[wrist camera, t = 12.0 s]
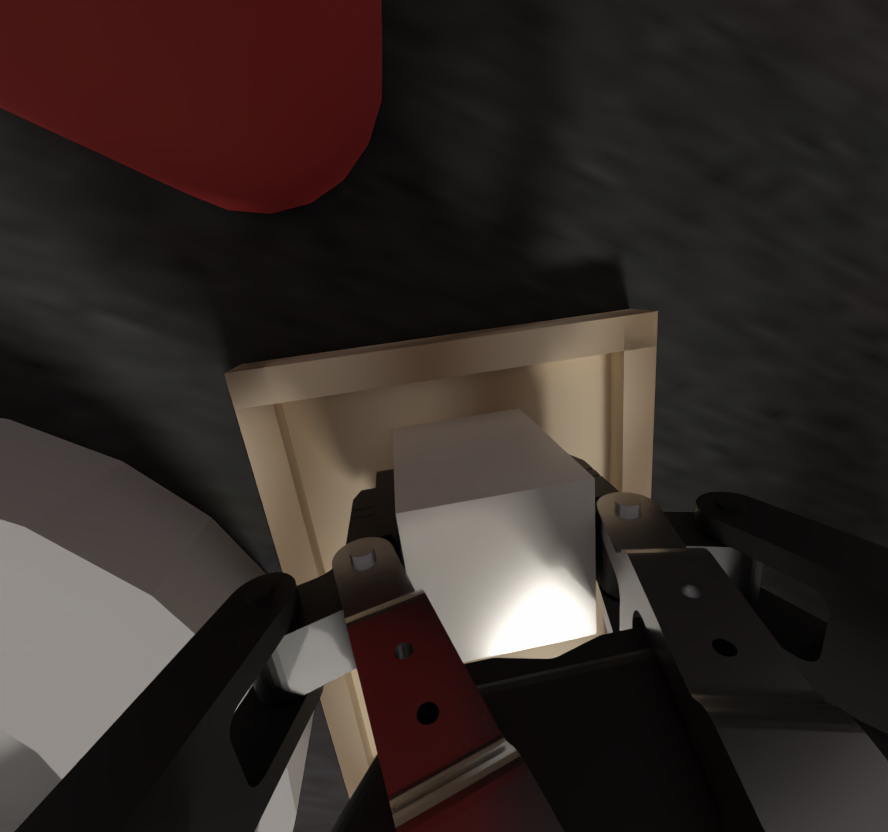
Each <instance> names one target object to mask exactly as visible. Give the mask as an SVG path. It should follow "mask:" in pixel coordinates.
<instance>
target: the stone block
mask: <svg viewBox="0 0 888 832" xmlns="http://www.w3.org/2000/svg"><path fill="white" fill-rule="evenodd" d="M392 435H393V461H394V488H395V514H396V519H397V525H398V530H399V536H400V541H401V547H402V552H403V558H404V563H405V569H406V574H407V575H408V577H409V579H410V581H411V583H412V585H413V587H414V589H415V591H416V590H419V589H423V590H424V592H425V593H426V595H427V597H428V599H429V601H430V602H431V604H432V606H433V608H434V610H435V612H436V613H437V615H438V617H439V619H440V621H441V623H442V625H443V626H444V628H445V630H446V632H447V634H448V636H449V637H450V639H451V641H452V643H453V645H454V647H455V649H456V650H457V652H458V654H459V656H460V658H461V660H462V662H468V661H473V660H477V659H482V658H487V657H491V656H496V655H501V654H506V653H510V652H515V651H520V650H524V649H529V648H534V647H539V646H543V645H548V644H553V643H557V642H562V641H567V640H572V639H576V638H581V637H586V636H590V635H595V634H596V552H595V478H594V477H593V476H592V475H591V474H590V473H589V472H587V471H586V470H585V469H584V468H583V467H582V466H581V465H580V464H579V463H578V462H577V461H576V460H574V459H573V458H572V457H571V456H570V455H569V454H568V453H567V452H566V451H565V450H564V449H563V448H561V447H560V446H559V445H558V444H557V443H556V442H555V441H554V440H553V439H552V438H551V437H550V436H549V435H547V434H546V433H545V432H544V431H543V430H542V429H541V428H540V427H539V426H538V425H537V424H536V423H534V422H533V421H532V420H531V419H530V418H529V417H528V416H527V415H526V414H525V413H524V412H523V411H521V410H520V409H519V408H518V409H512V410H506V411H499V412H493V413H487V414H481V415H474V416H468V417H462V418H456V419H449V420H443V421H437V422H431V423H424V424H418V425H412V426H406V427H399V428H393V429H392Z"/></svg>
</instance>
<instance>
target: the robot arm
mask: <svg viewBox="0 0 888 832" xmlns="http://www.w3.org/2000/svg"><path fill="white" fill-rule="evenodd" d="M570 456H571V457H572V458H573V459H574V460H576V461H577V462H578V463H579V464H580V465H581V466H582V467H583V468H584V469H585V470H586V471H587V472H589V473H590V474H591V475H592V476H593V477H594V478H595V552H596V581H597V597H598V601H599V605H600V608H601V611H602V615H603V618H604V622H605V625H606V628H607V632H608V634H603V635H600V636H598V637H596V638H594V639H592V640H590V641H588V642H586V643H584V644H582V645H580V646H578V647H576V648H574V649H572V650H570V651H568V652H566V653H564V654H562V655H560V656H558V657H555V658H551V659H533V658H490V659H485V660H481V661H476V662H471V663H467V664H464V663H463V662H462V660H461V658H460V656H459V654H458V652H457V650H456V649H455V647H454V645H453V643H452V641H451V639H450V637H449V636H448V634H447V632H446V630H445V628H444V626H443V625H442V623H441V621H440V619H439V617H438V615H437V613H436V612H435V610H434V608H433V606H432V604H431V602H430V601H429V599H428V597H427V595H426V593H425V592H424V590H423V589H419V590H416V591H415V589H414V587H413V585H412V583H411V581H410V579H409V577H408V575H407V574H406V569H405V563H404V558H403V552H402V547H401V541H400V536H399V530H398V525H397V519H396V514H395V488H394V469H390V470H384V471H378V472H376V488H372V489H366V490H361V491H360V492H359V494H358V495H357V496H356V497H355V498H354V499H353V503H352V509H351V511H352V512H351V516H350V522H349V528H348V535H347V541H346V545H345V546H343V547H342V548H341V549H339V550H338V551H337V552H336V554H335V555H334V557H333V559H332V569H331V570H330V571H328V572H327V573H325V574H323V575H322V576H319V577H317V578H315V579H313V580H310V581H308V582H305V583H303V584H300V585H298V586H297V585H296V581H295V579H294V578H293V577H292V576H291V575H289V574H287V573H281V572H275V573H268V574H264V575H261V576H258V577H256V578H254V579H252V580H250V581H248V582H246V583H245V584H243V585H242V586H240V587H239V588H238V589H237V590H235V591H234V592H233V593H232V594H231V596H230V597H229V598H228V599H227V600H226V601H225V602H224V603H223V604H222V605H221V606H220V608H219V609H218V610H217V611H216V612H215V613H214V614H213V615H212V616H211V617H210V618H209V620H208V621H207V622H206V623H205V624H204V625H203V626H202V627H201V628H200V629H199V630H198V632H197V633H196V634H195V635H194V636H193V637H192V638H191V639H190V640H189V641H188V642H187V644H186V645H185V646H184V647H183V648H182V649H181V650H180V651H179V652H178V653H177V654H176V656H175V657H174V658H173V659H172V660H171V661H170V662H169V663H168V664H167V665H166V667H165V668H164V669H163V670H162V671H161V672H160V673H159V674H158V675H157V676H156V677H155V679H154V680H153V681H152V682H151V683H150V684H149V685H148V686H147V687H146V688H145V689H144V691H143V692H142V693H141V694H140V695H139V696H138V697H137V698H136V699H135V700H134V701H133V703H132V704H131V705H130V706H129V707H128V708H127V709H126V710H125V711H124V712H123V713H122V715H121V716H120V717H119V718H118V719H117V720H116V721H115V722H114V723H113V724H112V725H111V727H110V728H109V729H108V730H107V731H106V732H105V733H104V734H103V735H102V736H101V737H100V739H99V740H98V741H97V742H96V743H95V744H94V745H93V746H92V747H91V748H90V749H89V751H88V752H87V753H86V754H85V755H84V756H83V757H82V758H81V759H80V760H79V761H78V763H77V764H76V765H75V766H74V767H73V768H72V769H71V770H70V771H69V772H68V773H67V775H66V776H65V777H64V778H63V779H62V780H61V781H60V782H59V783H58V784H57V785H56V787H55V788H54V789H53V790H52V791H51V792H50V793H49V794H48V795H47V796H46V797H45V799H44V800H43V801H42V802H41V803H40V804H39V805H38V806H37V807H36V808H35V809H34V811H33V812H32V813H31V814H30V815H29V816H28V817H27V818H26V819H25V820H24V821H23V823H22V824H21V825H20V826H19V827H18V828H17V829H16V830H15V831H14V832H255V830H256V828H257V826H258V823H259V821H260V819H261V817H262V815H263V813H264V811H265V809H266V807H267V805H268V803H269V801H270V799H271V797H272V795H273V793H274V791H275V789H276V787H277V785H278V783H279V781H280V779H281V777H282V775H283V773H284V770H285V768H286V766H287V764H288V762H289V760H290V758H291V756H292V754H293V752H294V750H295V748H296V746H297V744H298V742H299V740H300V738H301V736H302V734H303V732H304V730H305V728H306V726H307V724H308V722H309V720H310V717H311V715H312V713H313V711H314V709H315V707H316V705H317V703H318V701H319V699H320V697H321V695H322V692H323V688H324V685H325V684H327V683H329V682H331V681H333V680H335V679H337V678H339V677H341V676H342V675H344V674H346V673H348V672H350V671H352V670H354V669H356V668H357V671H358V676H359V680H360V684H361V688H362V692H363V696H364V700H365V704H366V708H367V713H368V717H369V721H370V725H371V729H372V733H373V737H374V741H375V746H376V750H377V755H376V757H375V758H374V760H373V762H372V763H371V765H370V767H369V768H368V770H367V772H366V773H365V775H364V777H363V778H362V780H361V782H360V783H359V785H358V787H357V788H356V790H355V792H354V793H353V795H352V796H351V798H350V800H349V801H348V803H347V805H346V806H345V808H344V810H343V811H342V813H341V815H340V816H339V818H338V820H337V821H336V823H335V825H334V826H333V828H332V829H331V831H330V832H888V548H886V547H883V546H880V545H878V544H875V543H872V542H869V541H867V540H864V539H861V538H859V537H856V536H853V535H851V534H848V533H845V532H842V531H840V530H837V529H834V528H832V527H829V526H826V525H824V524H821V523H818V522H815V521H813V520H810V519H807V518H805V517H802V516H799V515H797V514H794V513H791V512H788V511H786V510H783V509H780V508H778V507H775V506H772V505H770V504H767V503H764V502H761V501H759V500H756V499H753V498H751V497H748V496H745V495H741V494H736V493H730V492H710V493H706V494H703V495H701V496H699V497H698V498H697V500H696V509H695V512H662V510H661V509H660V507H659V506H658V504H657V503H656V502H655V501H653V500H652V499H650V498H648V497H646V496H643V495H640V494H636V493H631V492H619V491H618V490H617V489H616V488H615V487H614V486H613V485H611V484H610V483H609V482H608V481H607V480H606V479H605V478H604V477H602V476H600V474H599V473H598V472H597V471H596V470H593V468H592V467H591V466H590V465H589V464H588V463H587V462H585V461H584V460H582V459H580V458H577V457H575V456H572V455H570ZM763 564H766V565H768V566H770V567H772V568H774V569H776V570H778V571H780V572H782V573H784V574H787V575H789V576H791V577H793V578H795V579H797V580H799V581H801V582H803V583H805V584H807V585H809V586H811V587H813V588H814V589H816V590H817V591H818V592H819V593H820V594H821V595H822V596H823V597H824V598H825V600H826V601H827V603H828V605H829V609H830V614H829V619H828V623H826V622H824V621H823V620H821V619H819V618H817V617H815V616H813V615H811V614H810V613H808V612H806V611H804V610H802V609H800V608H798V607H796V606H795V605H793V604H791V603H789V602H787V601H785V600H783V599H781V598H780V597H778V596H776V595H774V594H772V593H770V592H768V591H766V590H765V589H763V588H761V587H760V585H761V578H762V571H763ZM252 684H253V686H252V687H251V685H252ZM250 687H251V689H250V690H249V688H250ZM248 690H249V692H248V693H247V691H248ZM815 691H816V692H817V693H819V694H820V695H822V696H823V697H825V698H826V699H828V700H829V701H831V702H832V703H834V704H835V705H837V706H838V707H840V708H841V709H843V710H844V711H846V712H847V713H849V714H850V715H852V716H853V717H855V718H856V719H855V718H853V717H851V716H849V715H848V714H847V713H845V712H844V711H842V710H841V709H839V708H837V707H835V706H832V705H830V704H828V703H826V702H824V701H823V700H822V699H821V698H820V697H819V696H818V695H817V694H816V693H815ZM246 693H247V695H246V696H245V694H246ZM244 696H245V698H244V699H243V697H244ZM242 699H243V701H242V702H241V700H242ZM240 702H241V704H240V705H239V703H240ZM238 705H239V707H238V708H237V706H238ZM236 708H237V710H236ZM235 710H236V711H235ZM234 712H235V713H234Z"/></svg>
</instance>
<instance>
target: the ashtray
mask: <svg viewBox="0 0 888 832" xmlns="http://www.w3.org/2000/svg"><path fill="white" fill-rule="evenodd" d="M264 574H266V573H265V572H264V571H263V570H262V569H261V568H260V567H259V566H258V565H257V564H256V563H255V562H254V561H253V560H252V559H251V558H250V557H249V556H248V555H247V554H246V553H245V551H244V550H243V549H242V548H241V547H240V546H239V545H238V544H237V543H236V542H235V541H234V540H233V539H232V538H231V537H230V536H229V535H228V534H227V533H226V532H225V531H224V530H223V529H222V528H221V527H220V526H219V525H218V524H217V523H216V522H215V521H214V520H213V519H212V518H211V517H210V516H208V515H207V514H205V513H204V512H202V511H200V510H199V509H197V508H196V507H194V506H193V505H191V504H189V503H188V502H186V501H185V500H183V499H181V498H180V497H178V496H177V495H175V494H174V493H172V492H170V491H169V490H167V489H166V488H164V487H162V486H161V485H159V484H158V483H156V482H155V481H153V480H151V479H150V478H148V477H147V476H145V475H143V474H142V473H140V472H139V471H137V470H135V469H134V468H132V467H131V466H129V465H128V464H126V463H124V462H123V461H120V460H117V459H115V458H112V457H109V456H106V455H104V454H101V453H98V452H96V451H93V450H90V449H88V448H85V447H82V446H80V445H77V444H74V443H71V442H69V441H66V440H63V439H61V438H58V437H55V436H53V435H50V434H47V433H44V432H42V431H39V430H36V429H34V428H31V427H28V426H26V425H23V424H20V423H17V422H15V421H12V420H9V419H3V418H0V832H14V831H15V830H16V829H17V828H18V827H19V826H20V825H21V824H22V823H23V821H24V820H25V819H26V818H27V817H28V816H29V815H30V814H31V813H32V812H33V811H34V809H35V808H36V807H37V806H38V805H39V804H40V803H41V802H42V801H43V800H44V799H45V797H46V796H47V795H48V794H49V793H50V792H51V791H52V790H53V789H54V788H55V787H56V785H57V784H58V783H59V782H60V781H61V780H62V779H63V778H64V777H65V776H66V775H67V773H68V772H69V771H70V770H71V769H72V768H73V767H74V766H75V765H76V764H77V763H78V761H79V760H80V759H81V758H82V757H83V756H84V755H85V754H86V753H87V752H88V751H89V749H90V748H91V747H92V746H93V745H94V744H95V743H96V742H97V741H98V740H99V739H100V737H101V736H102V735H103V734H104V733H105V732H106V731H107V730H108V729H109V728H110V727H111V725H112V724H113V723H114V722H115V721H116V720H117V719H118V718H119V717H120V716H121V715H122V713H123V712H124V711H125V710H126V709H127V708H128V707H129V706H130V705H131V704H132V703H133V701H134V700H135V699H136V698H137V697H138V696H139V695H140V694H141V693H142V692H143V691H144V689H145V688H146V687H147V686H148V685H149V684H150V683H151V682H152V681H153V680H154V679H155V677H156V676H157V675H158V674H159V673H160V672H161V671H162V670H163V669H164V668H165V667H166V665H167V664H168V663H169V662H170V661H171V660H172V659H173V658H174V657H175V656H176V654H177V653H178V652H179V651H180V650H181V649H182V648H183V647H184V646H185V645H186V644H187V642H188V641H189V640H190V639H191V638H192V637H193V636H194V635H195V634H196V633H197V632H198V630H199V629H200V628H201V627H202V626H203V625H204V624H205V623H206V622H207V621H208V620H209V618H210V617H211V616H212V615H213V614H214V613H215V612H216V611H217V610H218V609H219V608H220V606H221V605H222V604H223V603H224V602H225V601H226V600H227V599H228V598H229V597H230V596H231V594H232V593H233V592H234V591H235V590H237V589H238V588H239V587H240V586H242V585H243V584H245V583H246V582H248V581H250V580H252V579H254V578H256V577H258V576H261V575H264ZM252 686H253V684H252V685H251V687H252ZM251 687H250V688H249V690H250V689H251ZM249 690H248V691H247V693H248V692H249ZM247 693H246V694H245V696H246V695H247ZM245 696H244V697H243V699H244V698H245ZM243 699H242V700H241V702H242V701H243ZM241 702H240V703H239V705H240V704H241ZM239 705H238V706H237V708H238V707H239ZM237 708H236V710H237ZM236 710H235V711H236ZM234 713H235V712H234ZM313 714H314V711H313V713H312V715H311V717H310V720H309V722H308V724H307V726H306V728H305V730H304V732H303V734H302V736H301V738H300V740H299V742H298V744H297V746H296V748H295V750H294V752H293V754H292V756H291V758H290V760H289V762H288V764H287V766H286V768H285V770H284V773H283V775H282V777H281V779H280V781H279V783H278V785H277V787H276V789H275V791H274V793H273V795H272V797H271V799H270V801H269V803H268V805H267V807H266V809H265V811H264V813H263V815H262V817H261V819H260V821H259V823H258V826H257V828H256V830H255V832H293V828H294V823H295V818H296V813H297V807H298V801H299V795H300V789H301V784H302V778H303V772H304V766H305V760H306V755H307V749H308V743H309V737H310V731H311V725H312V720H313Z"/></svg>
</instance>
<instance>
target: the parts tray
mask: <svg viewBox="0 0 888 832" xmlns="http://www.w3.org/2000/svg"><path fill="white" fill-rule="evenodd" d="M657 321H658V311H650V310H639V309H625V310H618V311H611V312H604V313H597V314H590V315H583V316H576V317H569V318H562V319H554V320H547V321H540V322H533V323H526V324H519V325H512V326H505V327H498V328H491V329H484V330H477V331H470V332H463V333H456V334H449V335H442V336H435V337H428V338H421V339H413V340H406V341H399V342H392V343H385V344H378V345H371V346H364V347H357V348H350V349H343V350H336V351H329V352H322V353H315V354H308V355H301V356H294V357H287V358H279V359H272V360H265V361H258V362H251V363H244V364H241V365H239V366H237V367H235V368H233V369H231V370H229V371H228V372H226V373H224V375H225V378H226V382H227V385H228V389H229V392H230V395H231V399H232V402H233V405H234V409H235V412H236V416H237V419H238V422H239V426H240V429H241V433H242V436H243V439H244V443H245V446H246V449H247V453H248V456H249V460H250V463H251V466H252V470H253V473H254V477H255V480H256V483H257V487H258V490H259V493H260V497H261V500H262V504H263V507H264V510H265V514H266V517H267V521H268V524H269V527H270V531H271V534H272V537H273V541H274V544H275V548H276V551H277V554H278V558H279V561H280V565H281V568H282V571H283V573H287V574H289V575H291V576H292V577H293V578H294V579H295V581H296V585H297V586H298V585H300V584H303V583H305V582H308V581H310V580H313V579H315V578H317V577H319V576H322V575H323V574H325V573H327V572H328V571H330V570H331V569H332V559H333V557H334V555H335V554H336V552H337V551H338V550H339V549H341V548H342V547H343V546H345V545H346V541H347V535H348V528H349V522H350V516H351V512H352V511H351V509H352V503H353V499H354V498H355V497H356V496H357V495H358V494H359V492H360V491H361V490H366V489H372V488H376V472H378V471H384V470H390V469H394V461H393V435H392V429H393V428H399V427H406V426H412V425H418V424H424V423H431V422H437V421H443V420H449V419H456V418H462V417H468V416H474V415H481V414H487V413H493V412H499V411H506V410H512V409H518V408H519V409H520V410H521V411H523V412H524V413H525V414H526V415H527V416H528V417H529V418H530V419H531V420H532V421H533V422H534V423H536V424H537V425H538V426H539V427H540V428H541V429H542V430H543V431H544V432H545V433H546V434H547V435H549V436H550V437H551V438H552V439H553V440H554V441H555V442H556V443H557V444H558V445H559V446H560V447H561V448H563V449H564V450H565V451H566V452H567V453H568V454H569V455H572V456H575V457H577V458H580V459H582V460H584V461H585V462H587V463H588V464H589V465H590V466H591V467H592V468H593V470H596V471H597V472H598V473H599V474H600V476H602V477H604V478H605V479H606V480H607V481H608V482H609V483H610V484H611V485H613V486H614V487H615V488H616V489H617V490H618V491H619V492H631V493H636V494H640V495H643V496H646V497H648V498H650V499H651V480H652V454H653V427H654V400H655V374H656V347H657ZM603 634H608V632H607V628H606V625H605V622H604V618H603V615H602V611H601V608H600V605H599V601H598V597H597V581H596V634H595V635H590V636H586V637H581V638H576V639H572V640H567V641H562V642H557V643H553V644H548V645H543V646H539V647H534V648H529V649H524V650H520V651H515V652H510V653H506V654H501V655H496V656H491V657H487V658H482V659H477V660H473V661H468V662H463V663H464V664H467V663H471V662H476V661H481V660H485V659H490V658H533V659H551V658H555V657H558V656H560V655H562V654H564V653H566V652H568V651H570V650H572V649H574V648H576V647H578V646H580V645H582V644H584V643H586V642H588V641H590V640H592V639H594V638H596V637H598V636H600V635H603ZM320 700H321V703H322V707H323V710H324V713H325V717H326V720H327V724H328V727H329V730H330V734H331V737H332V741H333V744H334V747H335V751H336V754H337V757H338V761H339V764H340V768H341V771H342V774H343V778H344V781H345V785H346V788H347V791H348V795H349V798H351V796H352V795H353V793H354V792H355V790H356V788H357V787H358V785H359V783H360V782H361V780H362V778H363V777H364V775H365V773H366V772H367V770H368V768H369V767H370V765H371V763H372V762H373V760H374V758H375V757H376V755H377V750H376V746H375V741H374V737H373V733H372V729H371V725H370V721H369V717H368V713H367V708H366V704H365V700H364V696H363V692H362V688H361V684H360V680H359V676H358V671H357V668H356V669H354V670H352V671H350V672H348V673H346V674H344V675H342V676H341V677H339V678H337V679H335V680H333V681H331V682H329V683H327V684H325V685H324V688H323V692H322V695H321V697H320Z"/></svg>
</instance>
